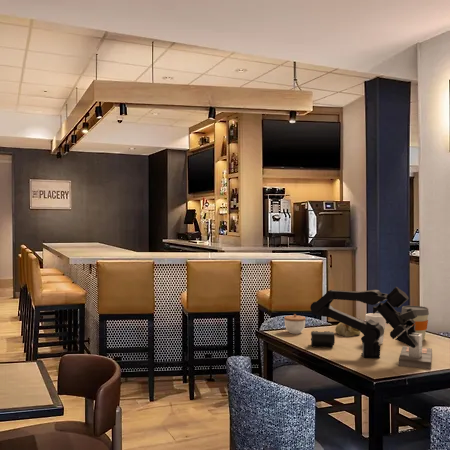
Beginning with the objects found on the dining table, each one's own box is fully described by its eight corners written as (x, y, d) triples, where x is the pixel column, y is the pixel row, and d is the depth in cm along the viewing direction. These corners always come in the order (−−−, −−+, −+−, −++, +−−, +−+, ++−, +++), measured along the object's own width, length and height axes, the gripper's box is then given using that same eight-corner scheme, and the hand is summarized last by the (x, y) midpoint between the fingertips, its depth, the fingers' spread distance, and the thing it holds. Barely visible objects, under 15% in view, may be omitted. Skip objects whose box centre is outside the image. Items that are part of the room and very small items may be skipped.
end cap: (312, 348, 246) (312, 333, 246) (310, 344, 253) (310, 329, 253) (334, 348, 246) (334, 333, 246) (331, 344, 253) (331, 330, 253)
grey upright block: (408, 357, 221) (409, 334, 221) (411, 354, 225) (412, 332, 225) (419, 358, 219) (419, 336, 219) (422, 355, 223) (422, 333, 223)
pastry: (355, 338, 267) (355, 321, 267) (331, 335, 274) (331, 319, 273) (364, 333, 279) (364, 317, 279) (340, 330, 286) (340, 315, 286)
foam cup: (361, 341, 260) (361, 313, 260) (377, 339, 264) (377, 312, 263) (374, 345, 251) (374, 317, 251) (390, 343, 255) (390, 315, 255)
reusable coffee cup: (414, 342, 258) (414, 310, 258) (395, 337, 270) (395, 306, 269) (434, 340, 263) (434, 308, 263) (415, 334, 275) (415, 305, 274)
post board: (430, 368, 213) (431, 353, 213) (398, 365, 218) (398, 350, 218) (432, 354, 236) (432, 340, 236) (402, 351, 240) (402, 338, 240)
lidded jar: (288, 329, 286) (288, 311, 286) (308, 331, 282) (308, 313, 281) (281, 333, 276) (281, 314, 276) (301, 335, 272) (302, 316, 272)
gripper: (398, 305, 216) (427, 336, 211) (410, 299, 232) (437, 328, 226) (378, 323, 221) (406, 354, 215) (391, 316, 236) (417, 345, 231)
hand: (417, 345), depth 222 cm, fingers open, 9 cm apart
